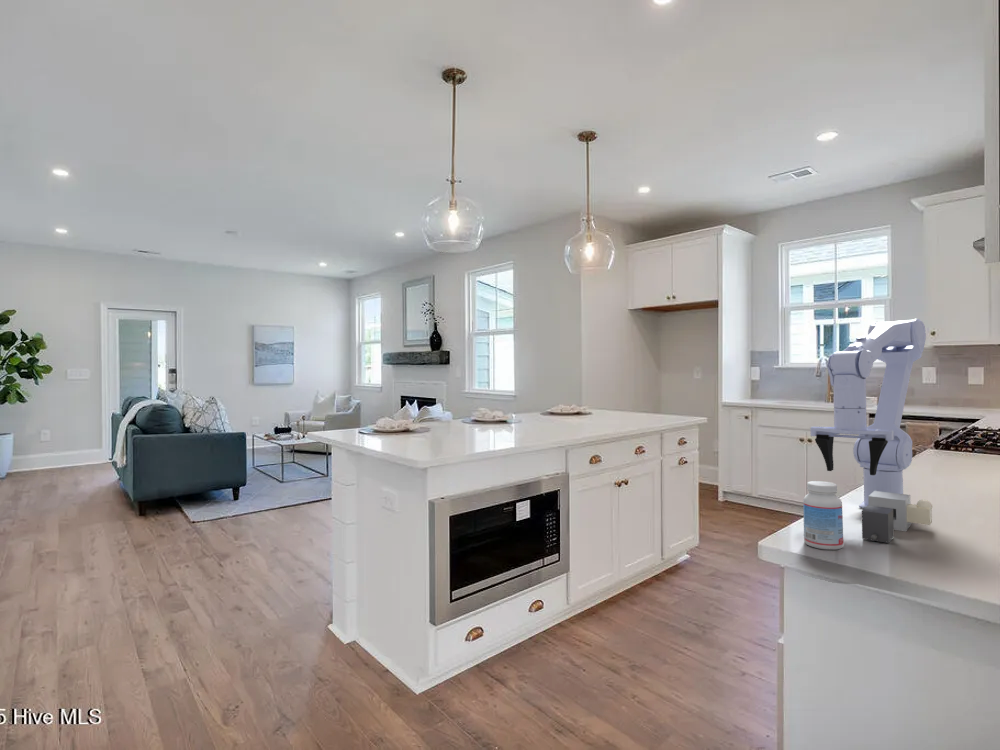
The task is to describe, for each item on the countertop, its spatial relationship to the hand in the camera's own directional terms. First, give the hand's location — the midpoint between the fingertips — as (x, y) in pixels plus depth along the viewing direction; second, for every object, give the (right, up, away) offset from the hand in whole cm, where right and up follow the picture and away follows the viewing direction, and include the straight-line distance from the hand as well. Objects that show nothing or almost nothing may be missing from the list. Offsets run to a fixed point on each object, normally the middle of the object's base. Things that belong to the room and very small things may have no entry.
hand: (851, 472), depth 112 cm
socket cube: (+5, -10, -5) cm, 12 cm away
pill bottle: (-15, -11, -16) cm, 24 cm away
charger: (-4, -10, -13) cm, 17 cm away
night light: (+8, -8, -8) cm, 14 cm away
